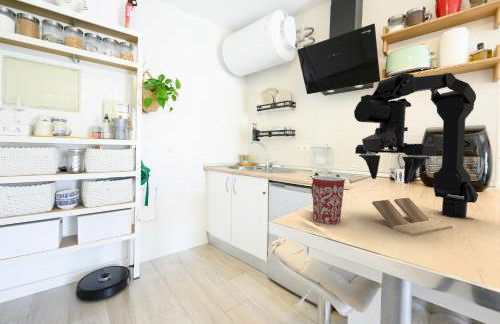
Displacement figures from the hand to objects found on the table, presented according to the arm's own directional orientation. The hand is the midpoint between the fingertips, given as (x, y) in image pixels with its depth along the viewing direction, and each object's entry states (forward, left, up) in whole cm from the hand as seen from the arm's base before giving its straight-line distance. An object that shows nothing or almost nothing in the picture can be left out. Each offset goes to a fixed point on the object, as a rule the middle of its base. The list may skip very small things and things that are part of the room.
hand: (388, 181), depth 59 cm
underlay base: (-5, +1, -13) cm, 14 cm away
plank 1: (-1, 0, -9) cm, 9 cm away
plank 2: (-10, 0, -9) cm, 14 cm away
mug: (+14, -10, -13) cm, 21 cm away
